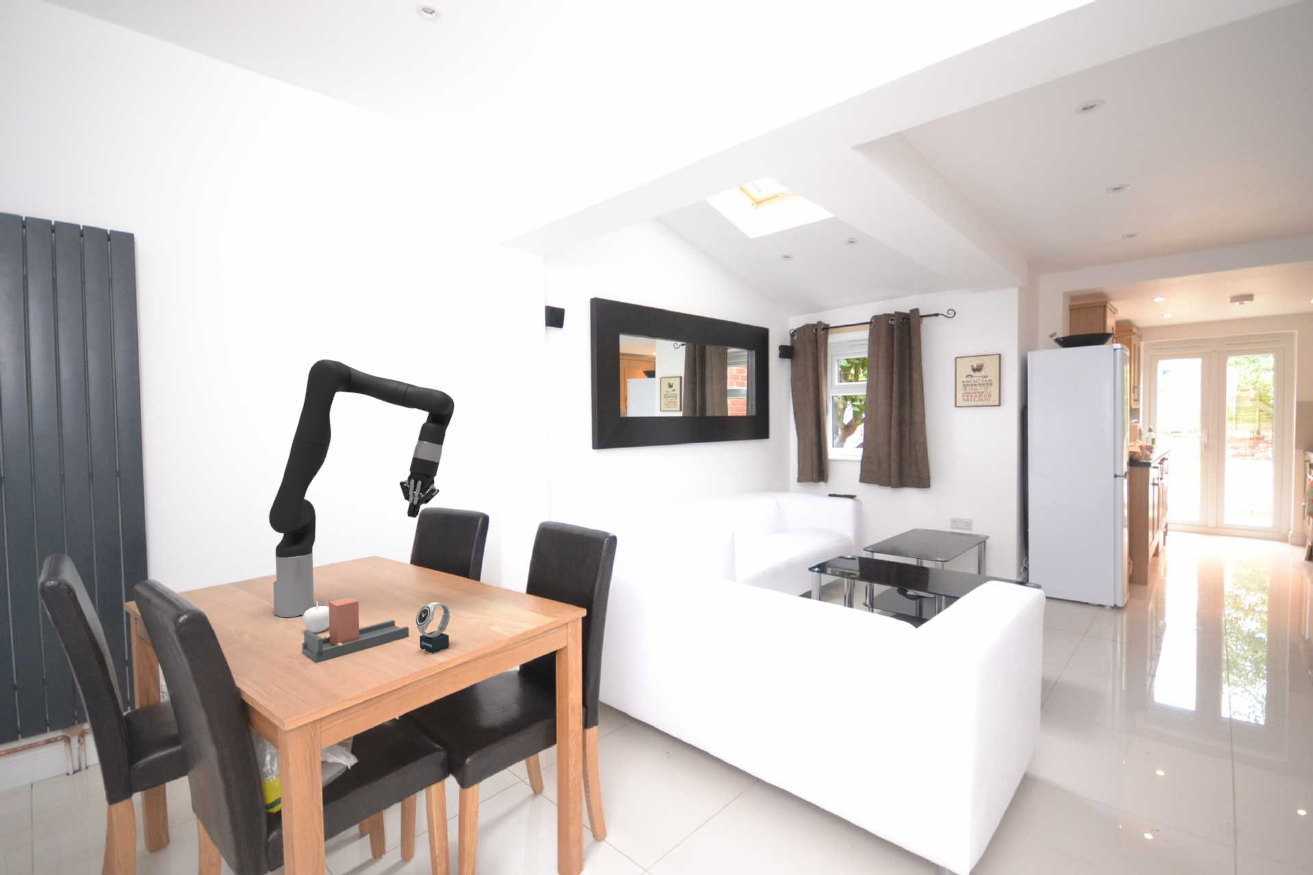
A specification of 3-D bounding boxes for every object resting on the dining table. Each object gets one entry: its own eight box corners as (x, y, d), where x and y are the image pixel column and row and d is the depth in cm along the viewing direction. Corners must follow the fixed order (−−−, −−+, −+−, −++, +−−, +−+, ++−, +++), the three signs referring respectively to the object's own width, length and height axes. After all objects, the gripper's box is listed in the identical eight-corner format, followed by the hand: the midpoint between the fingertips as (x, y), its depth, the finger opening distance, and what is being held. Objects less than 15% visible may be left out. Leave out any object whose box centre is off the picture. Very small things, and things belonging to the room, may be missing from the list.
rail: (392, 628, 160) (392, 609, 160) (409, 636, 154) (408, 616, 154) (301, 652, 144) (301, 631, 144) (316, 662, 138) (315, 640, 138)
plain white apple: (299, 636, 155) (298, 606, 155) (307, 627, 162) (306, 598, 162) (329, 633, 157) (328, 603, 157) (335, 624, 164) (335, 595, 164)
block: (351, 636, 150) (350, 597, 150) (359, 641, 147) (358, 601, 147) (329, 642, 147) (328, 601, 146) (337, 647, 143) (336, 605, 143)
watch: (412, 651, 144) (411, 605, 144) (441, 640, 151) (440, 597, 151) (426, 656, 141) (425, 609, 141) (455, 645, 148) (454, 601, 148)
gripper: (399, 452, 173) (384, 511, 171) (436, 460, 169) (421, 521, 167) (417, 456, 180) (402, 513, 178) (453, 463, 176) (438, 522, 174)
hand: (411, 517), depth 172 cm, fingers closed
